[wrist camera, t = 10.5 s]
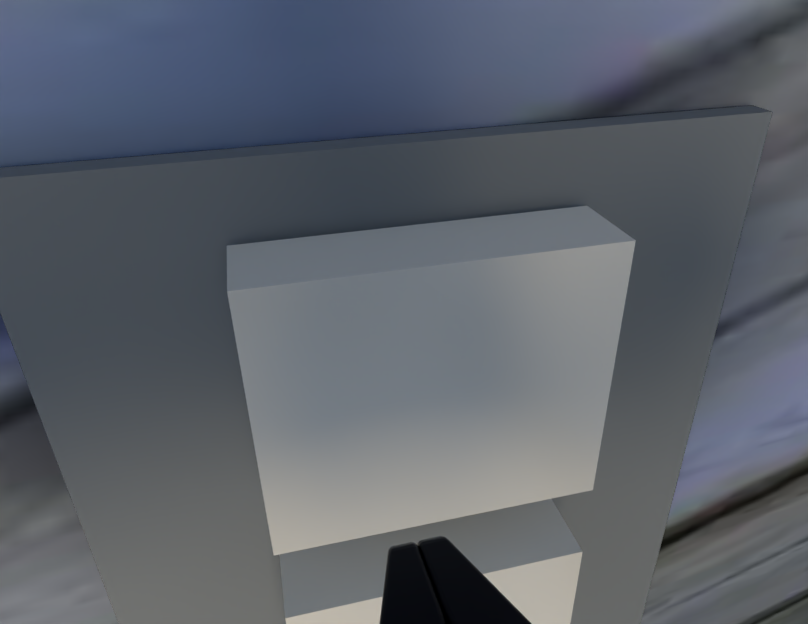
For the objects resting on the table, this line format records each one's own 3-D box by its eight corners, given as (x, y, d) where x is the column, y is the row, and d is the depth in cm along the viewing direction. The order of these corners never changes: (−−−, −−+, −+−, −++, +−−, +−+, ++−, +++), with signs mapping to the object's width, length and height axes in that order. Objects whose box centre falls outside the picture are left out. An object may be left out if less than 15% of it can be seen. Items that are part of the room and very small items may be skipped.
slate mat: (751, 105, 14) (772, 111, 13) (628, 617, 22) (638, 633, 22) (-37, 170, 11) (-50, 182, 10) (169, 732, 19) (167, 753, 19)
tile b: (226, 241, 12) (582, 202, 13) (267, 484, 15) (554, 432, 16) (226, 291, 10) (635, 240, 11) (273, 555, 13) (592, 490, 14)
